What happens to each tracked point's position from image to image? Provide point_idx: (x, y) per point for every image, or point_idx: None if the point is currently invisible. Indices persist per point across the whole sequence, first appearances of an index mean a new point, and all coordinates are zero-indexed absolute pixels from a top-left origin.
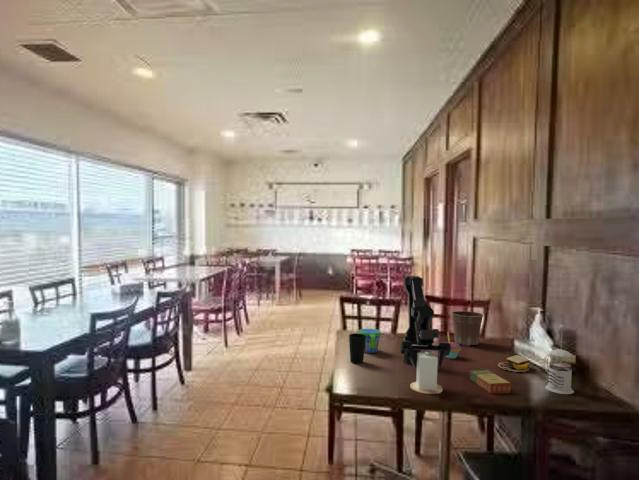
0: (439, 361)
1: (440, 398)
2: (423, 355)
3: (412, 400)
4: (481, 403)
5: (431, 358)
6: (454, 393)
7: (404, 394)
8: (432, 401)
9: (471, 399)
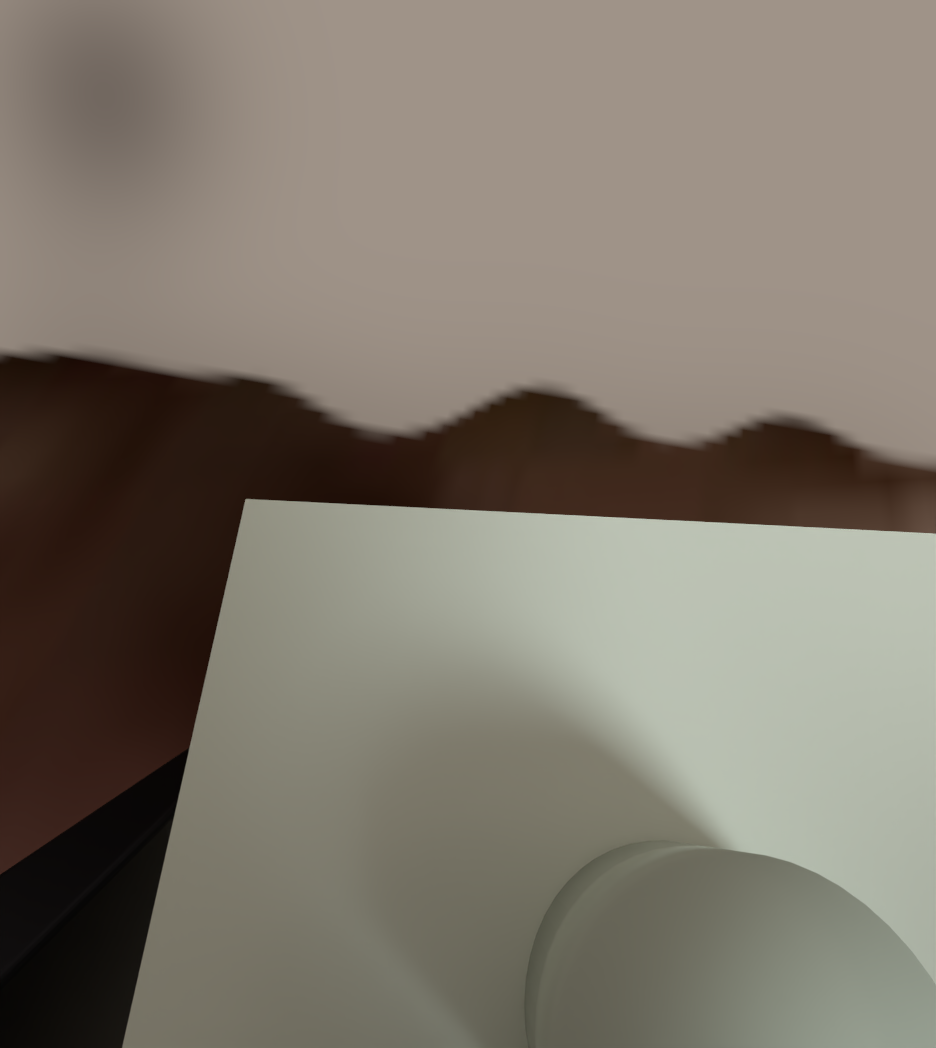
0: (106, 884)
1: (416, 498)
2: (913, 915)
3: (741, 429)
4: (19, 397)
5: (520, 533)
6: (166, 672)
7: None
8: (529, 417)
9: (60, 491)
